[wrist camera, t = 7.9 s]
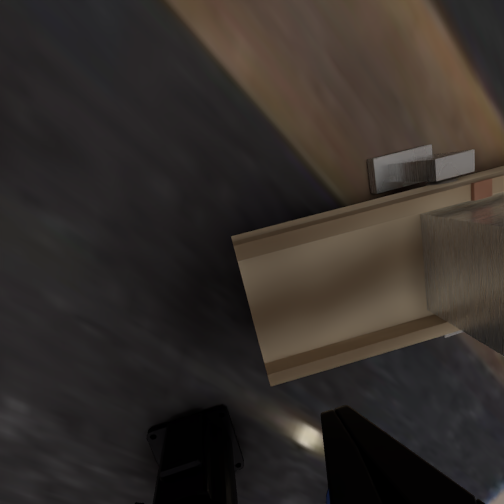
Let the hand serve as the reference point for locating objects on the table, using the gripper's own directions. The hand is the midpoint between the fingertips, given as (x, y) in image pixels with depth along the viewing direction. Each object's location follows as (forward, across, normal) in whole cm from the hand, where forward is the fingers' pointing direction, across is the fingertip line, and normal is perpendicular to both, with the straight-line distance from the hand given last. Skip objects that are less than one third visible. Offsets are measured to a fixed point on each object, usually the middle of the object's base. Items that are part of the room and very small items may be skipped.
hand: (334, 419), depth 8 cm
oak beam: (+9, -12, 0) cm, 15 cm away
